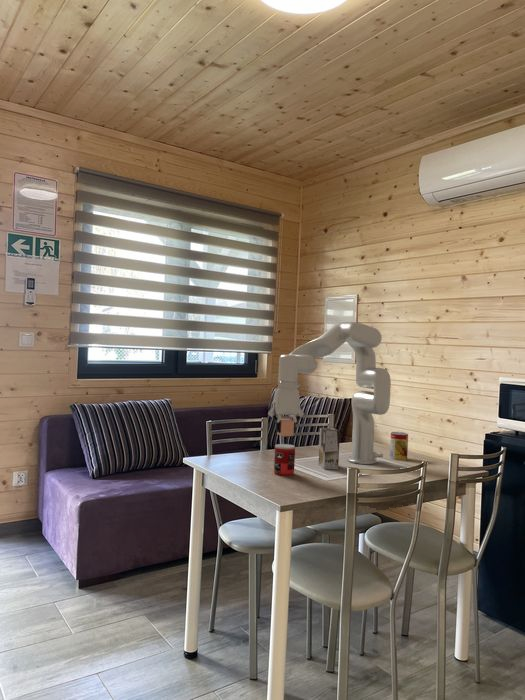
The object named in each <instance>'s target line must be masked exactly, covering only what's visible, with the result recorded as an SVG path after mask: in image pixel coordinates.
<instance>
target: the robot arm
mask: <svg viewBox="0 0 525 700" xmlns="http://www.w3.org/2000/svg"><path fill="white" fill-rule="evenodd" d="M381 342H382V333H381V331H380V330H379V329H378V328H376V327H373V326H370V325H367V324H363V323H361V322H357V321H339V322H337V323H335V324H334V325H332V326H331V327H330V328H329V329H328V330H326V331H325V332H324V333H323V334H321V336H319V337H318V338H315V339H312V340H311V341H309V342H306V343H304V344H302V345H299V346H298V347H296V348H295V349H293V351H291V352H290V353H289V354H281V355H280V356H279V359H278V360H279V361H278V381H277V388H276V389H275V390H274V394H273V402H272V407H271V409H270V410H269V411H268V413H267V414H268V415H269V416H270V418H271V417H272V419H273V420H274V422H275V431H276V433H277V432H278V433H280V432H281V423H280V420H281V419H282V416H290V419H291V420H294V431H296V424H297V422H298V421H299V420H300V419H301V418H302V417H303V416H304V415H305V413H304V411H303V409H302V408H301V407H300V406H301V403H300V402H301V400H300V392H299V389H298V388H300V387H301V383H299V382H298V377H299V374H302V375H303V374H304V375H305V374H306V375H308V374H313V373H314V372H315V371H316V370H317V368H318V361H317V358H322V357H327V356H330V355H331V354H333V353H334V352H335V351H336V350H337V349H339V348H340V347H341V346H342V345H344V344H345V343H347V344H348V345H349V347H351V349H352V350H353V351H354V353H355V358H356V367H355V368H356V369H355V383H356V385H357V386H358V387H360V388H363V389H371V390H373V391H369V390H358V391H356V392H354V393H353V395H352V397H351V410H352V433H351V434H352V437H351V455H350V456H348V457H347V461H348V462H350V463H354V464H359V465H374V464H376V463H377V458H383V457H384V453H382V452H376V451H374V443H375V442H374V439H375V419H374V415H379V416H380V415H385V414H387V412H388V411H389V408H390V405H391V404H390V403H391V387H392V386H391V384H392V383H391V382H392V381H391V376H390V375H391V374H390V372H389V371H388V370H387V369H386V368H383V367H377V366H376V352H375V351H374V349H375V348H377V347H378V346H379V345H380V344H381ZM275 414H276V415H275Z"/></svg>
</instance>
